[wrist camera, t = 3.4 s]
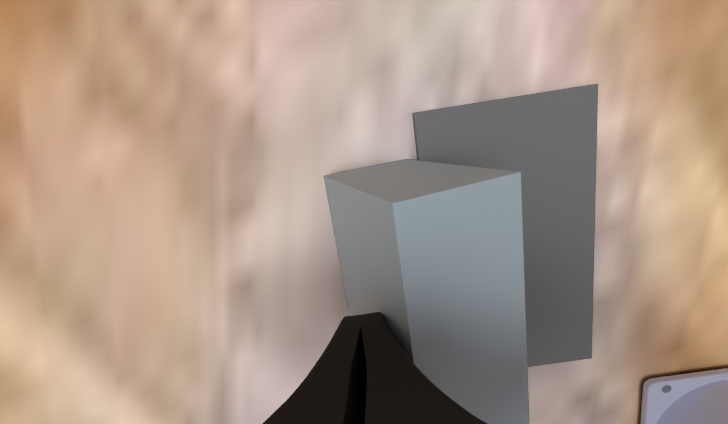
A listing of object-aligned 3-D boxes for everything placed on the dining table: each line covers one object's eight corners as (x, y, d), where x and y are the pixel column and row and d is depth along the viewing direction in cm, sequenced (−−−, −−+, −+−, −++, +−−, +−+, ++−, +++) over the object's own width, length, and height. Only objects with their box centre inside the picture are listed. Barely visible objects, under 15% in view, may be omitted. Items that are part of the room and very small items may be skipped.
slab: (405, 159, 16) (520, 172, 10) (428, 342, 19) (529, 449, 12) (323, 175, 15) (392, 203, 8) (359, 369, 17) (432, 503, 11)
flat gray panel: (592, 84, 15) (597, 83, 15) (586, 353, 19) (591, 358, 18) (412, 113, 15) (413, 113, 15) (441, 373, 19) (443, 378, 19)
